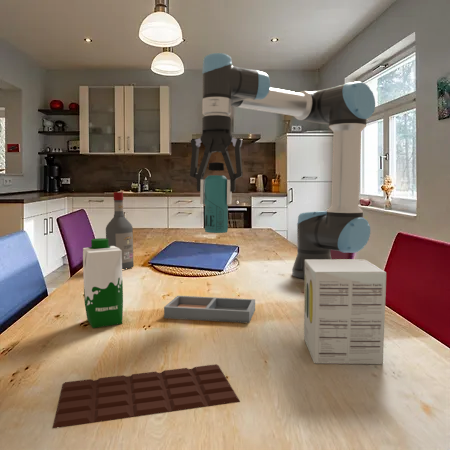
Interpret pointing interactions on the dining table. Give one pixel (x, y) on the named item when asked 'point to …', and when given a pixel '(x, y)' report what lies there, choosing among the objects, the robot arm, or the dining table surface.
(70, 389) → the chocolate bar
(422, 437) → the dining table surface
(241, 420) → the dining table surface
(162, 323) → the dining table surface
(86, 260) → the milk carton
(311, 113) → the robot arm
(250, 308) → the tray
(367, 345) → the supplement box
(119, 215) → the liquor
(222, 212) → the beverage bottle
